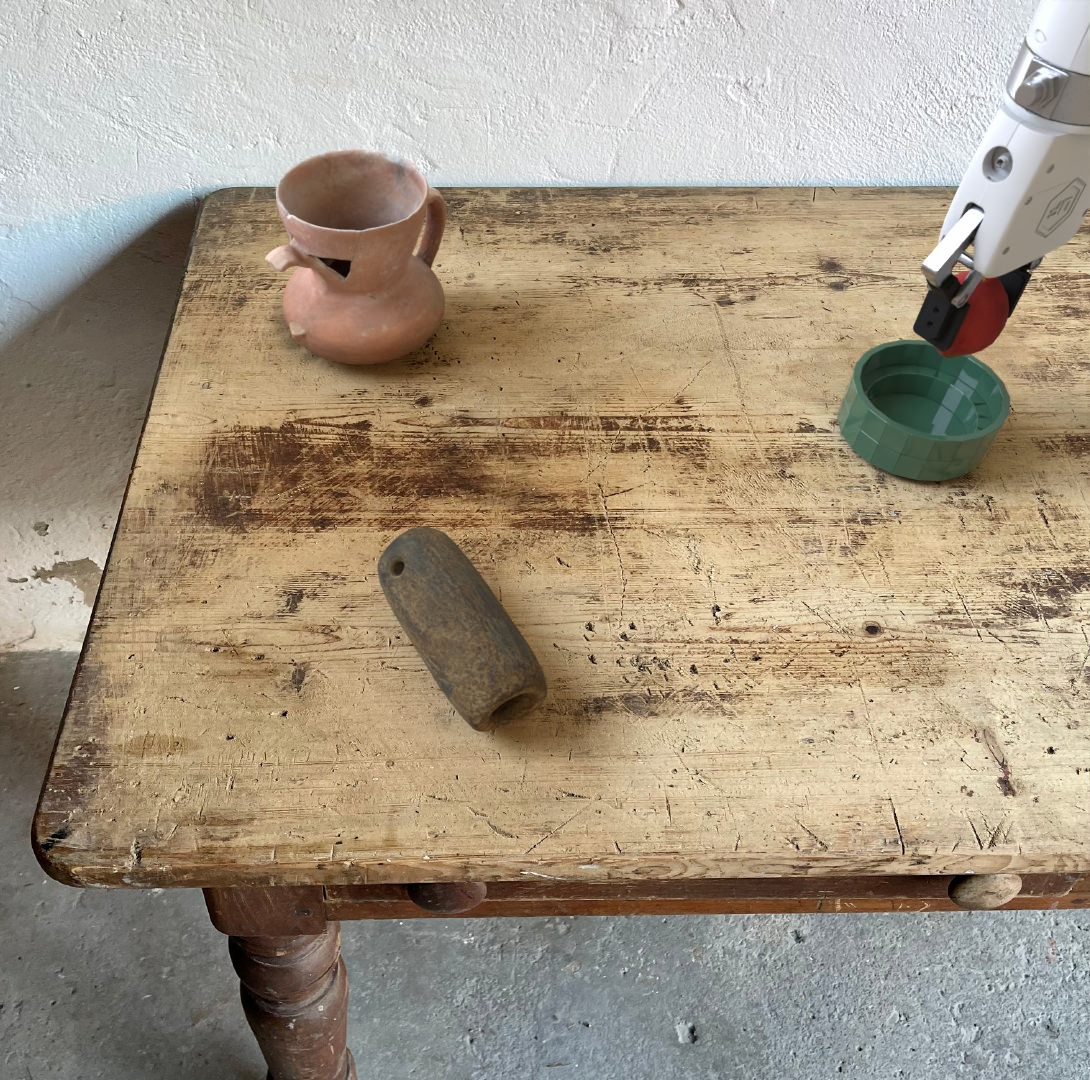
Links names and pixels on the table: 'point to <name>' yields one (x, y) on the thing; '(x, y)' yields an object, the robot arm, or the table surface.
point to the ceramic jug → (360, 255)
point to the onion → (980, 317)
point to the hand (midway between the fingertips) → (961, 323)
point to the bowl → (922, 410)
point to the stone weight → (460, 630)
